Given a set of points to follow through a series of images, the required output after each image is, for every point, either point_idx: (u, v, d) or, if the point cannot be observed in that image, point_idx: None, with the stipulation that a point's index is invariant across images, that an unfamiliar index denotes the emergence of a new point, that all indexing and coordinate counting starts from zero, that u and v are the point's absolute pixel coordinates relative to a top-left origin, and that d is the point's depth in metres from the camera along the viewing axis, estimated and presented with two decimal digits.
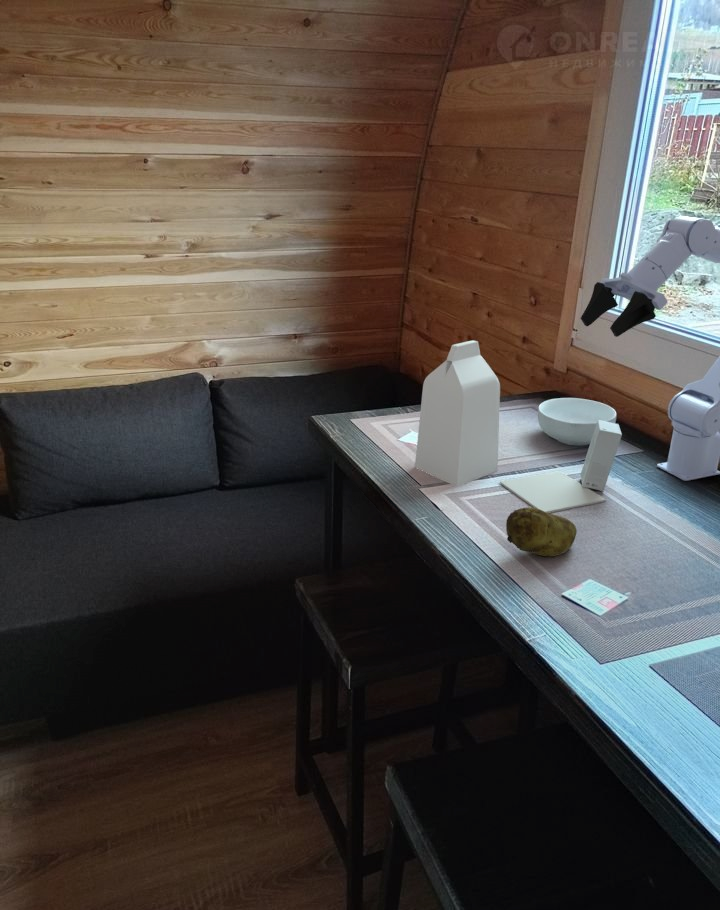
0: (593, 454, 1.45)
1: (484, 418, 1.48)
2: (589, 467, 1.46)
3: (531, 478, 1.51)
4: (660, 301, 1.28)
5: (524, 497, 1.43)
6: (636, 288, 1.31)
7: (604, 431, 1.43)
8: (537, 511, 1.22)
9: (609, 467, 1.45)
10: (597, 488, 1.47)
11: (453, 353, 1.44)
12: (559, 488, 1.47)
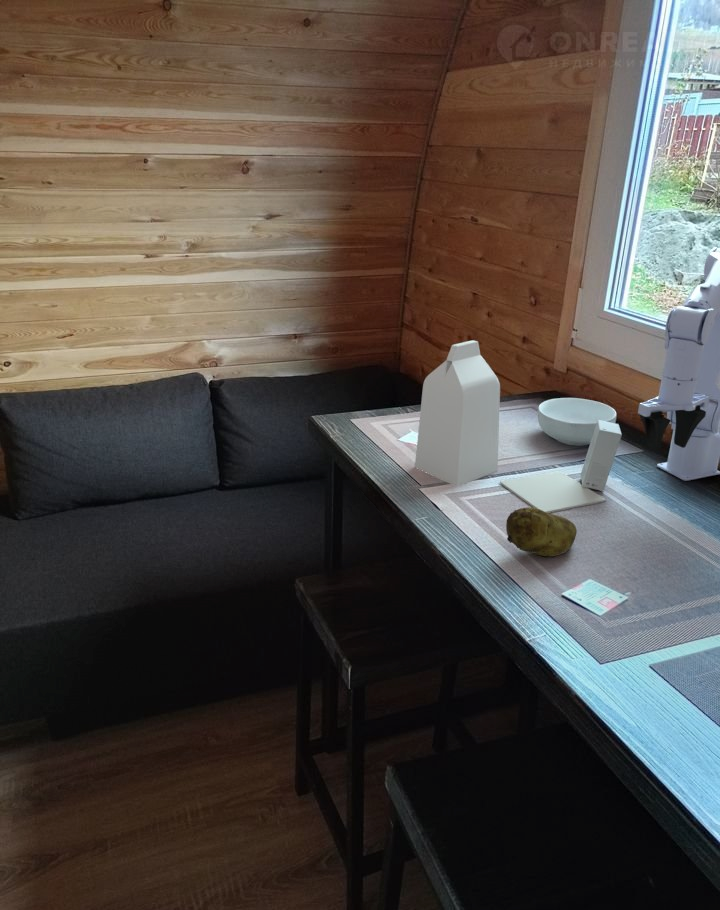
0: (593, 454, 1.45)
1: (484, 418, 1.48)
2: (589, 467, 1.46)
3: (531, 478, 1.51)
4: None
5: (524, 497, 1.43)
6: None
7: (604, 431, 1.43)
8: (537, 511, 1.22)
9: (609, 467, 1.45)
10: (597, 488, 1.47)
11: (453, 353, 1.44)
12: (559, 488, 1.47)
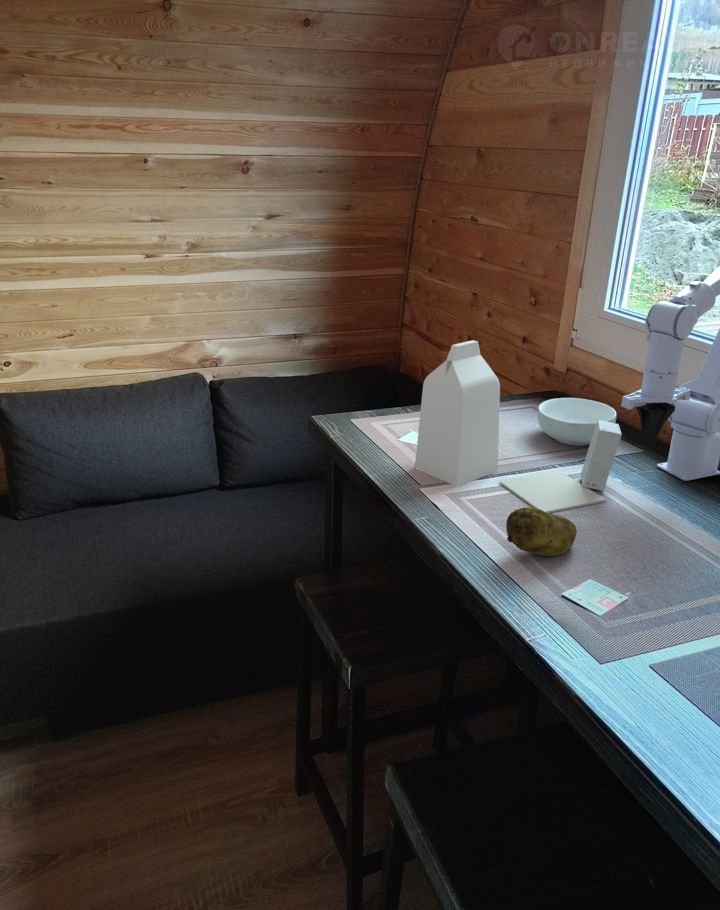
0: (593, 454, 1.45)
1: (484, 418, 1.48)
2: (589, 467, 1.46)
3: (531, 478, 1.51)
4: None
5: (524, 497, 1.43)
6: None
7: (604, 431, 1.43)
8: (537, 511, 1.22)
9: (609, 467, 1.45)
10: (597, 488, 1.47)
11: (453, 353, 1.44)
12: (559, 488, 1.47)
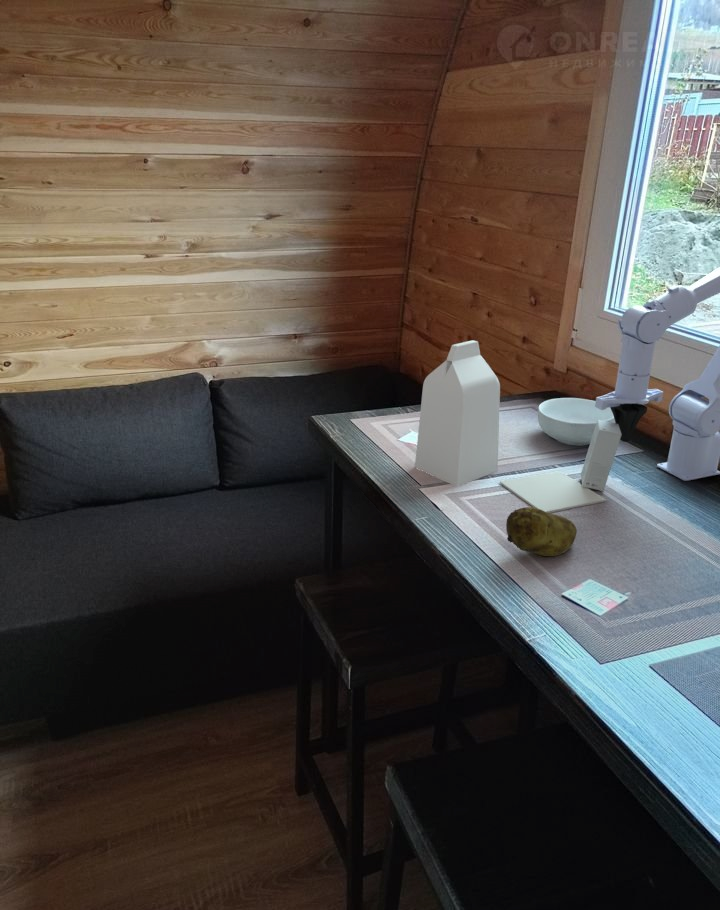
0: (593, 454, 1.45)
1: (484, 418, 1.48)
2: (589, 467, 1.46)
3: (531, 478, 1.51)
4: None
5: (524, 497, 1.43)
6: None
7: (604, 431, 1.43)
8: (537, 511, 1.22)
9: (609, 467, 1.45)
10: (597, 488, 1.47)
11: (453, 353, 1.44)
12: (559, 488, 1.47)
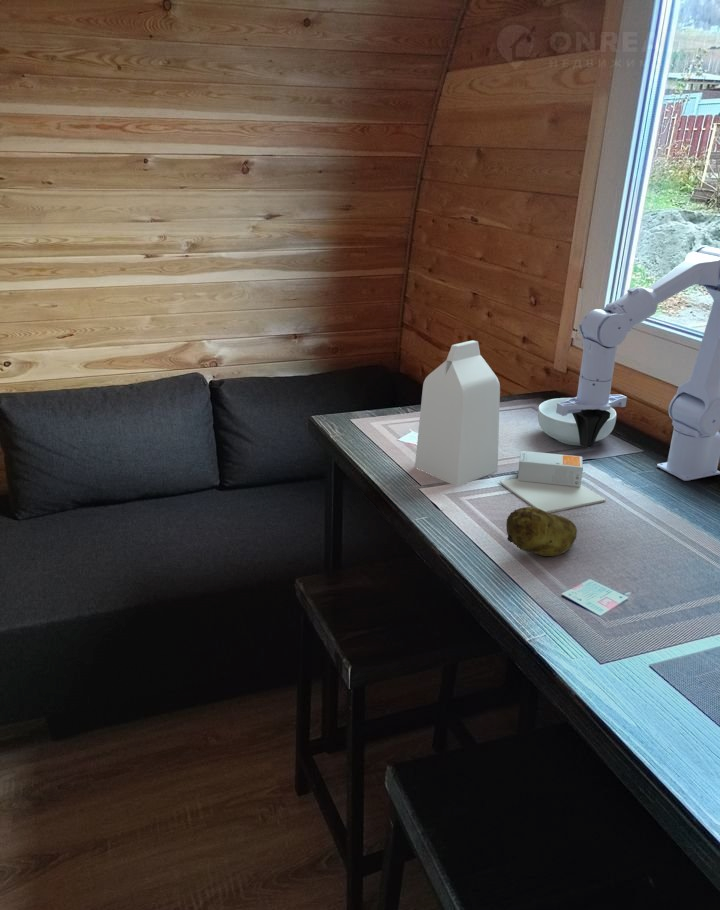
0: (544, 482, 1.49)
1: (484, 418, 1.48)
2: (558, 483, 1.48)
3: None
4: None
5: (524, 497, 1.43)
6: None
7: (519, 476, 1.50)
8: (537, 511, 1.22)
9: (555, 466, 1.47)
10: (580, 473, 1.47)
11: (453, 353, 1.44)
12: (559, 488, 1.47)
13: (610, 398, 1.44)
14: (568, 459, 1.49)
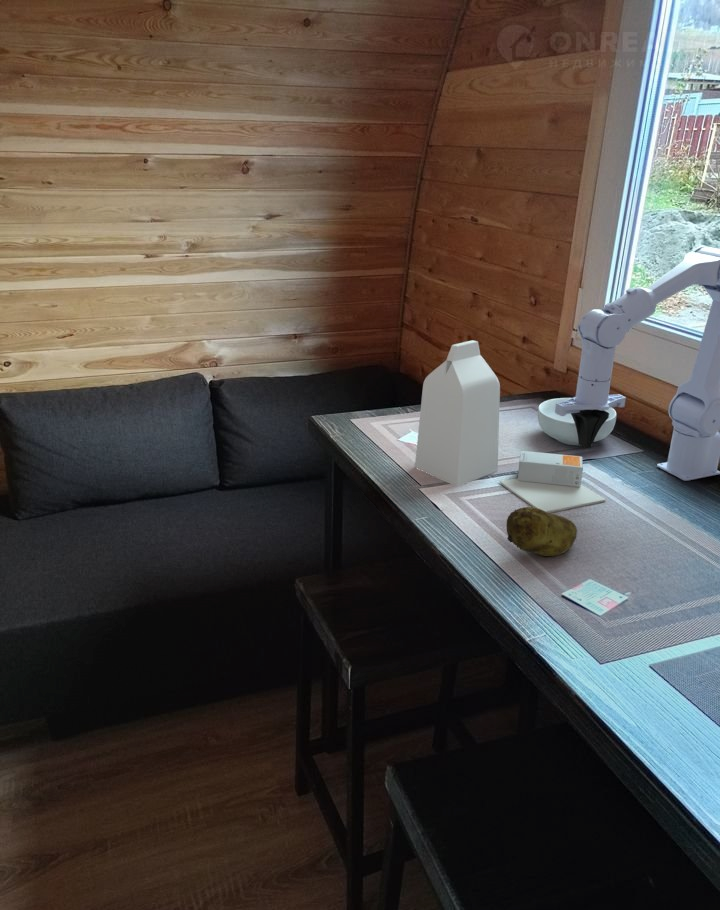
0: (544, 482, 1.49)
1: (484, 418, 1.48)
2: (558, 483, 1.48)
3: None
4: None
5: (524, 497, 1.43)
6: None
7: (519, 476, 1.50)
8: (537, 511, 1.22)
9: (555, 466, 1.47)
10: (580, 473, 1.47)
11: (453, 353, 1.44)
12: (559, 488, 1.47)
13: (609, 398, 1.44)
14: (568, 459, 1.49)
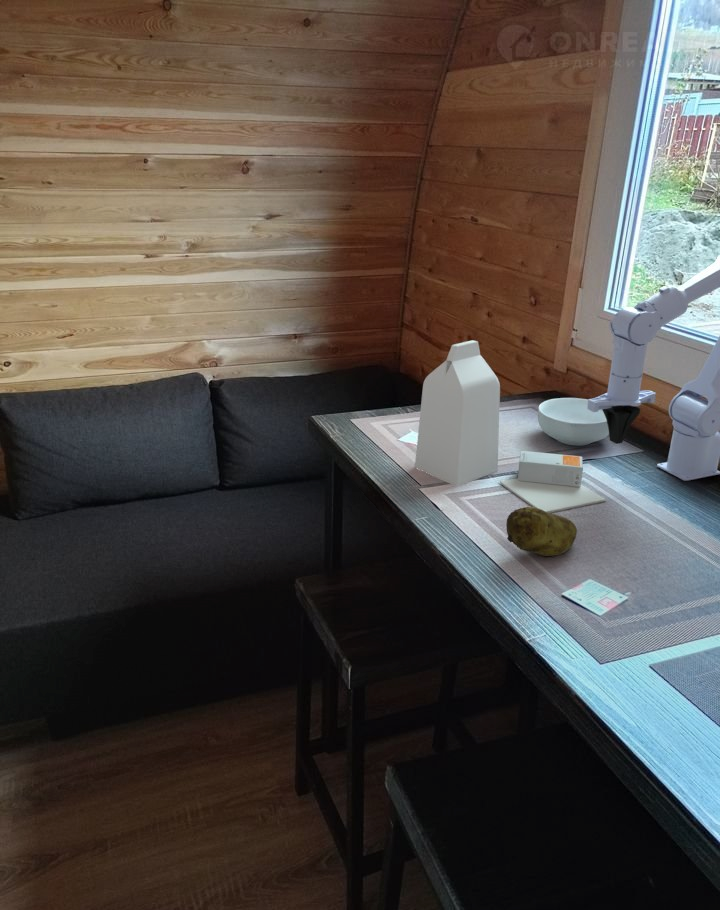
0: (544, 482, 1.49)
1: (484, 418, 1.48)
2: (558, 483, 1.48)
3: None
4: None
5: (524, 497, 1.43)
6: None
7: (519, 476, 1.50)
8: (537, 511, 1.22)
9: (555, 466, 1.47)
10: (580, 473, 1.47)
11: (453, 353, 1.44)
12: (559, 488, 1.47)
13: (640, 394, 1.46)
14: (568, 459, 1.49)
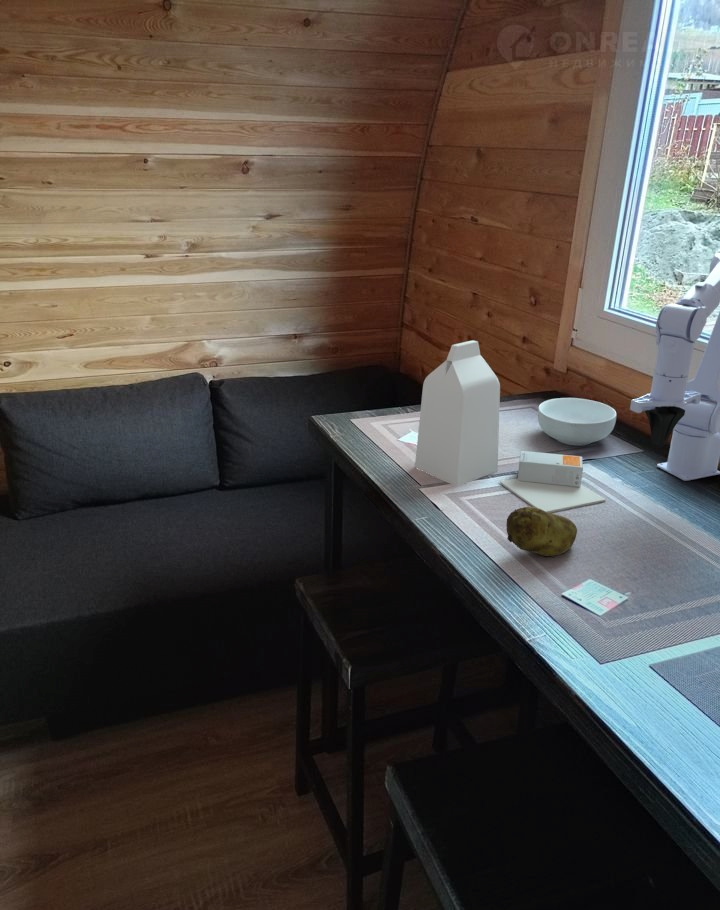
0: (544, 482, 1.49)
1: (484, 418, 1.48)
2: (558, 483, 1.48)
3: None
4: None
5: (524, 497, 1.43)
6: None
7: (519, 476, 1.50)
8: (537, 511, 1.22)
9: (555, 466, 1.47)
10: (580, 473, 1.47)
11: (453, 353, 1.44)
12: (559, 488, 1.47)
13: (684, 395, 1.40)
14: (568, 459, 1.49)
